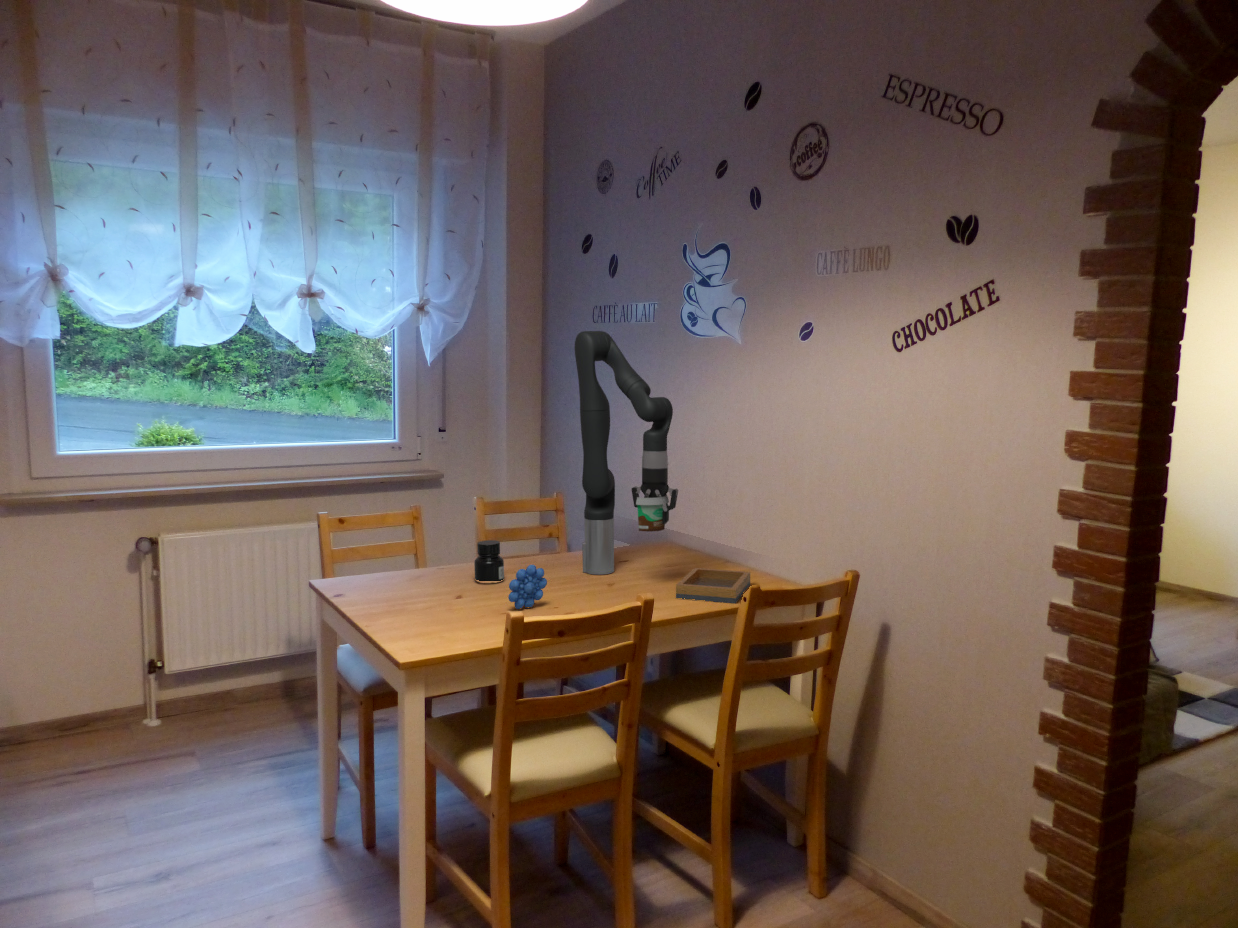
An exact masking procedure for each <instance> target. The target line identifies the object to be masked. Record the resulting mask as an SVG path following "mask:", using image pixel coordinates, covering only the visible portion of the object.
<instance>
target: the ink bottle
mask: <svg viewBox="0 0 1238 928" xmlns="http://www.w3.org/2000/svg"><path fill="white" fill-rule="evenodd" d="M476 546H477V547H476V548H477V555H478V556H477V557H476V558H475V559H474V561H473V563H474V567H473V568H474V580H475V579H476V580H479V581H501V580H503V579H504V580H505V564H504V563H505V561H504V558H503V557H502V556H500V555H501V542H500V541H499V540H495V539H494V540H493V539H488V540H481V541H478V542H477V545H476ZM504 580H503V581H504Z"/></svg>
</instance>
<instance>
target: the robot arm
mask: <svg viewBox="0 0 1238 928" xmlns="http://www.w3.org/2000/svg"><path fill="white" fill-rule="evenodd" d="M574 356H575V364H576V365H575V366H576V371H577V378H578V389H579V390H578V391H579V392H578V393H579V416H580V432H581V443H582V452H583V459H582V460H583V463H582V464H583V465H582V477H581V478H582V480H581V485H582V489H583V491H584V493H585V506H584V513H583V514H584V518H583V519H584V525H583V526H584V541H583V542H582V548H581V549H582V573H587V574H588V575H600V576H601V575H607V574H612V573H614V572H615V528H614V527H615V523H614V522H615V519H614V517H615V516H614V514H615V507H616V504H615V503H616V500H615V499H616V498H615V497H616V494H615V493H616V485H615V484H616V483H615V481H616V480H615V476H614V474H613V472H612V471H611V469H610V468H609V465H608V445H609V439H610V433H611V431H610V430H611V410H610V407H611V406H610V401H609V399H608V397H607V395H606V393H605V391H604V390H603V388H602V386H601V384H600V383H599V380H598V378H597V373H596V362H603V363H605V364H606V365H608V367H610V368H611V369H612V371H613V374H614V380H615V384H616V385H617V388H619V390H620V391H621V393H622V394H623V395H625V396H626V397H627V399H628V400H629V401H630V402H631V405H632V408H633V410H634V411H635V414H637V417H639V419H640V420H642V421H644V422H646V423H652V425H651V427H650V428H649V429H647V430H645V431H644V432H643V434H642V435H643V436H642V457H641V485H640V486H633V487H631V490H630V491H631V495H632V501H633V506H634V507H635V508H637V505H636V500H637V497H639V498H640V495H639V494H640V493H641V492H642V494H643V498H658V497H664V496H665V495H666V494H667V495H668V493H669V496H670V500H669V503H666V504H663V510H664V511H663V524H665V525H666V524H667V523H668V522H669V521H670V511H671V510H674V509H675V508H676V505H677V500H678V494H679V489H678V488H670V487H669V484H668V483H669V481H668V479H669V477H668V475H669V458H668V457H669V456H668V435H669V431H670V429H671V427H670V426H671V423H672V419H673V416H674V415H673V413H674V411H673V410H674V409H673V404H672V402H671V400H670V399H669V398H667V397H664V396H657V397H651V396H650V395H651V392H652V391H651V389H652V388H651V387H650V386H649V384H648V383H647V382H646V381H645V380H644V378H642V377H641V375H639V374H638V372H637V371H636V370H635V369H634V368H633V367H632V366H631V364H630V363H629V361H628V360H627V359H626V356H625V355H624V354H623V352H622V351H621V349H620V347H619V346H618V345H617V343H616V342H615V340H614V338H613V337H612V336H611V335H610V334H609V333H608V332H606V331H603V330H585V331H581V332H579V333H578V334H577V335H576V337H575V340H574ZM662 499H663V498H662ZM663 502H664V501H663Z"/></svg>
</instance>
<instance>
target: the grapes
mask: <svg viewBox="0 0 1238 928" xmlns="http://www.w3.org/2000/svg"><path fill="white" fill-rule="evenodd" d="M544 575H545V570H544V568H542V567H539V568H537V566H536V565H535V564H529V565H528V566H527V567H526V569H524V568H520V569H518V570H517V571H516V573H515V579H511V581H510V582H509V584H508V588H509V590H510V593H509V594H508V596H507V597H508V601H509V602H510V603H514V608H515V609H516V610H520V608H521V609H522V608H523V607H524V608H526V607H531V608H532V607H533V606H534V605H535V601H540V600H542V598H543V596H544V591H543V589H545V588H546V586H547V585H548V580H547V578H545V577H544Z"/></svg>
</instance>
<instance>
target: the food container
mask: <svg viewBox="0 0 1238 928" xmlns="http://www.w3.org/2000/svg"><path fill="white" fill-rule="evenodd" d="M662 498H663V499H662ZM663 501H664V502H663ZM666 503H668V504H670V500H669V497H668V493H667V494H666V495H665V496H664V497H658V498H644V497H640V496H639V497H637V500H636V505H637V507H636V508H637V521H638V524H637V525H638V531H639V532H660V531H664V530H665V527H666V526H665V525H666V524H663V511H664V510H663V504H666Z"/></svg>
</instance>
